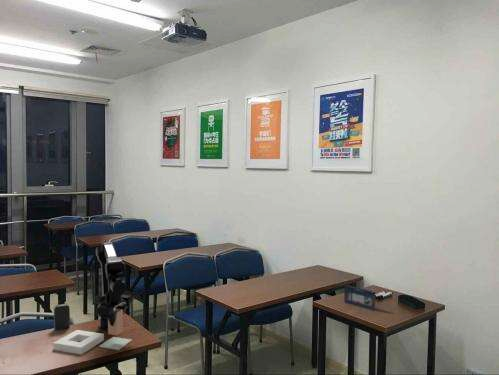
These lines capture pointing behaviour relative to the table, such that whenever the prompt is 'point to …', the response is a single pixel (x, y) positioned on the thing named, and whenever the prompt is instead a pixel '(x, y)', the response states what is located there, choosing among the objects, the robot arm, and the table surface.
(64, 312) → the battery charger
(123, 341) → the mat
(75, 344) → the dock
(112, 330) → the peg
